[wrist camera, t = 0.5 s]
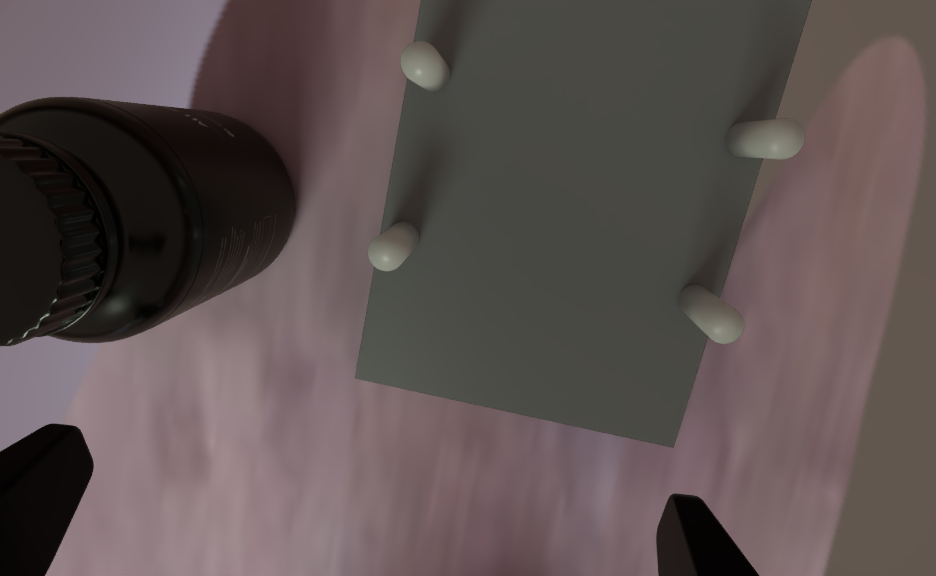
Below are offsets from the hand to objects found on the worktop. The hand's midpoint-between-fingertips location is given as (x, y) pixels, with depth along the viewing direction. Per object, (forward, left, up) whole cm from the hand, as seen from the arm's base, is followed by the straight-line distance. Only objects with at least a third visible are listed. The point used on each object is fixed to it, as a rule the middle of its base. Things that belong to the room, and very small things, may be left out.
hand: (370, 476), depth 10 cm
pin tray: (+5, 0, -16) cm, 17 cm away
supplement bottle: (-6, +8, -16) cm, 19 cm away
